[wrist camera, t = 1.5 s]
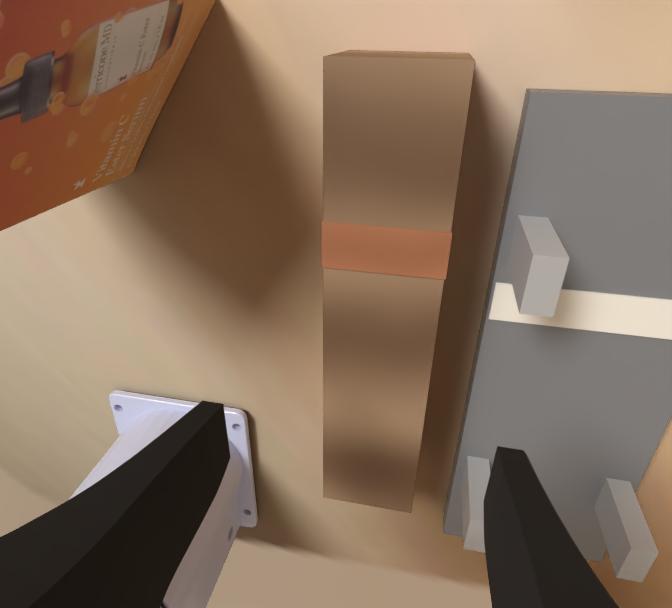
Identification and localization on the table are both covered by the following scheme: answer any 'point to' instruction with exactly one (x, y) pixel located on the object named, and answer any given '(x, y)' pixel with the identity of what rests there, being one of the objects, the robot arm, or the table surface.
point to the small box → (83, 92)
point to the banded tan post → (385, 258)
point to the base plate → (577, 322)
